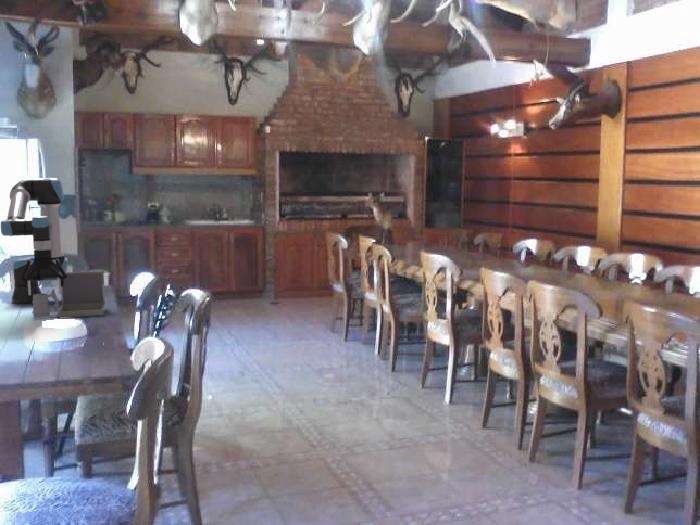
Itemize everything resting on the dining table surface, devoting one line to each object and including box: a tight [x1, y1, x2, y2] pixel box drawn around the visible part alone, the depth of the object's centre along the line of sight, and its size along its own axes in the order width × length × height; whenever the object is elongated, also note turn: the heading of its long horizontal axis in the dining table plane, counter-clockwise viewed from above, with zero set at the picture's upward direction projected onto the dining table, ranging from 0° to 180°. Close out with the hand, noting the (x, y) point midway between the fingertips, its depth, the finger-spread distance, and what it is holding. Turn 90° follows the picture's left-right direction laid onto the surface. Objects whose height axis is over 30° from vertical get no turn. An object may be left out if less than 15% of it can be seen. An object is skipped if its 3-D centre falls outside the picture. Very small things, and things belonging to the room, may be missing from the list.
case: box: [57, 270, 106, 318], centre depth 356 cm, size 19×20×19 cm
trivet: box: [33, 311, 58, 319], centre depth 352 cm, size 10×10×1 cm
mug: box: [31, 288, 60, 317], centre depth 351 cm, size 8×12×12 cm, turn 119°
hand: (45, 294), depth 351 cm, fingers open, 13 cm apart
